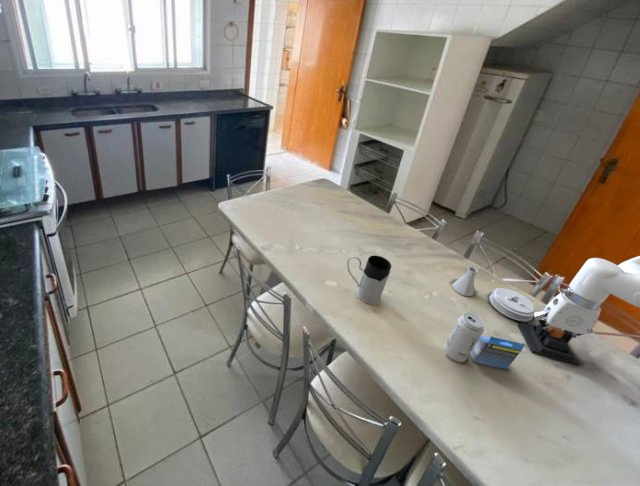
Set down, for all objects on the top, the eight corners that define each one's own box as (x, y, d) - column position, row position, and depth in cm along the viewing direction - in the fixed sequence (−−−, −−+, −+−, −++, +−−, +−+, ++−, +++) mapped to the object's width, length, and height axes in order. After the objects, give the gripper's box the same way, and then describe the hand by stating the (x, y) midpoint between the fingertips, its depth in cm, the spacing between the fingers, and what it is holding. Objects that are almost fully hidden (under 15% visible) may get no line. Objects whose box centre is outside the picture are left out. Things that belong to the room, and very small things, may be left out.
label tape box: (499, 360, 98) (518, 332, 92) (506, 372, 94) (526, 344, 89) (467, 353, 99) (484, 325, 93) (473, 365, 96) (491, 337, 90)
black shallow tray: (559, 336, 107) (563, 331, 106) (578, 366, 98) (583, 361, 97) (517, 325, 110) (520, 319, 109) (531, 352, 101) (535, 347, 100)
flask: (461, 281, 128) (471, 261, 123) (478, 294, 122) (489, 274, 117) (447, 284, 126) (457, 264, 121) (463, 298, 119) (474, 277, 115)
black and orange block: (553, 333, 105) (561, 322, 103) (564, 351, 99) (573, 340, 97) (535, 328, 107) (543, 317, 104) (545, 346, 101) (553, 335, 98)
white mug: (378, 308, 112) (391, 275, 105) (338, 291, 118) (347, 258, 111) (382, 292, 119) (395, 260, 112) (344, 276, 125) (353, 245, 118)
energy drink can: (458, 368, 94) (479, 332, 87) (438, 351, 99) (457, 316, 92) (468, 358, 97) (490, 324, 90) (448, 343, 102) (467, 308, 95)
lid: (480, 298, 120) (485, 288, 118) (504, 292, 124) (510, 282, 122) (514, 326, 109) (521, 316, 107) (539, 319, 113) (547, 309, 111)
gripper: (553, 297, 94) (523, 339, 102) (627, 316, 89) (589, 358, 98) (541, 280, 100) (514, 321, 108) (610, 297, 96) (575, 338, 104)
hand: (550, 338), depth 103 cm, fingers closed on black and orange block, 5 cm apart
